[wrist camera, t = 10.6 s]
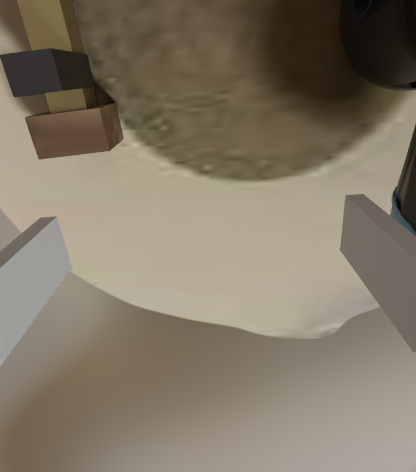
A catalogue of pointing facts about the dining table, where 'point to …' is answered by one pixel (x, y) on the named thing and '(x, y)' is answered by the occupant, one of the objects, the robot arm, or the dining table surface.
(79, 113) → the socket block
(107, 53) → the dining table surface
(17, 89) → the tan sliding insert
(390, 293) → the robot arm
